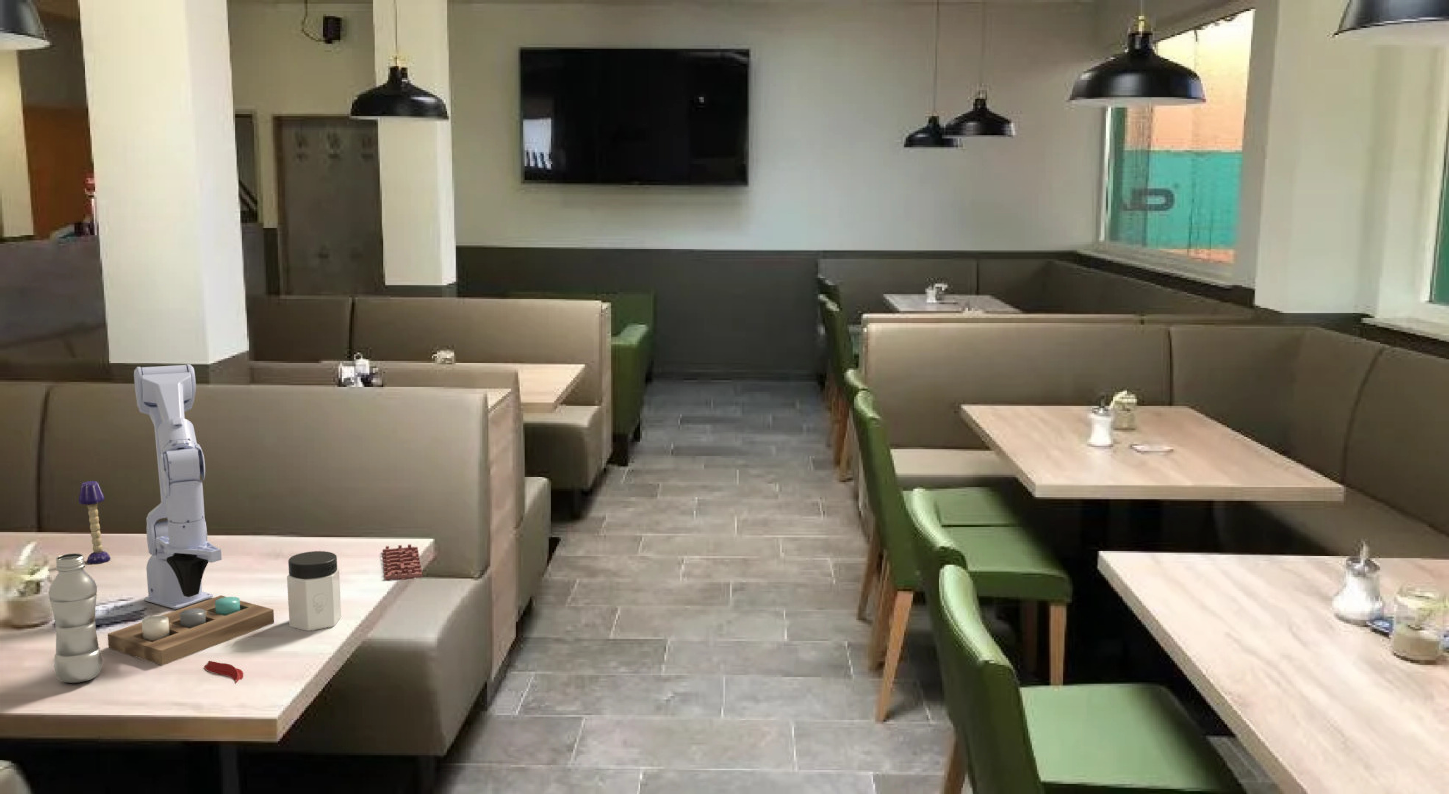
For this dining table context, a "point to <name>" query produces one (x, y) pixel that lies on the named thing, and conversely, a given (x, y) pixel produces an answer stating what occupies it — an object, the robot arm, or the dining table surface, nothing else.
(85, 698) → the dining table surface
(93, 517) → the toy lamp
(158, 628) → the ivory key
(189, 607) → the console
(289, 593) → the jar
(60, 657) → the plastic bottle
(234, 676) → the cayenne pepper
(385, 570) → the brown woven panel
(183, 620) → the graphite key
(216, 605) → the teal rounded piece
